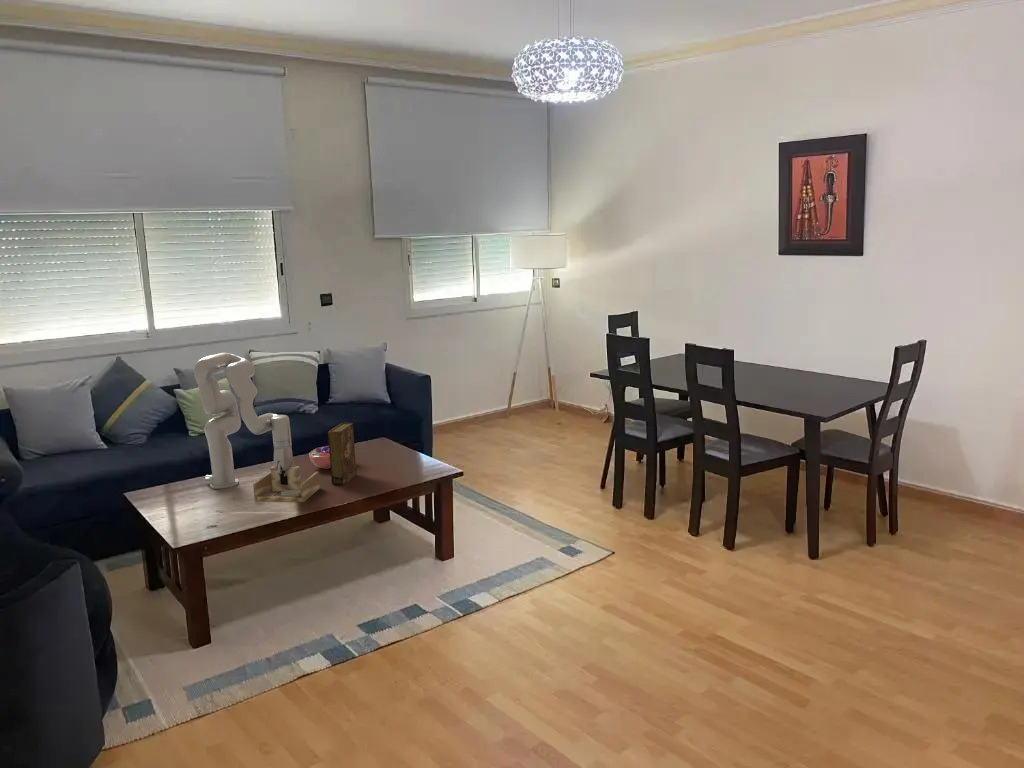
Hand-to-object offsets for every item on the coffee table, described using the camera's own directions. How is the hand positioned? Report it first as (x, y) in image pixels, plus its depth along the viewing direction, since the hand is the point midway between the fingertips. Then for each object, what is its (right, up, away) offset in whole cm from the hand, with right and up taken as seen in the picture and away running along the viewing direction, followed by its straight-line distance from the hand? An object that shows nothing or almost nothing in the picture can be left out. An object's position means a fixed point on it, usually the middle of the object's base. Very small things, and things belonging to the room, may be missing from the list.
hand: (286, 482), depth 342 cm
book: (+23, 0, +13) cm, 27 cm away
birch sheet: (0, -4, +1) cm, 4 cm away
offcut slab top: (+4, -4, -5) cm, 8 cm away
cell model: (+12, +3, +33) cm, 35 cm away
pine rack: (+2, -5, -5) cm, 7 cm away
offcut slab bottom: (+2, -5, -5) cm, 8 cm away
